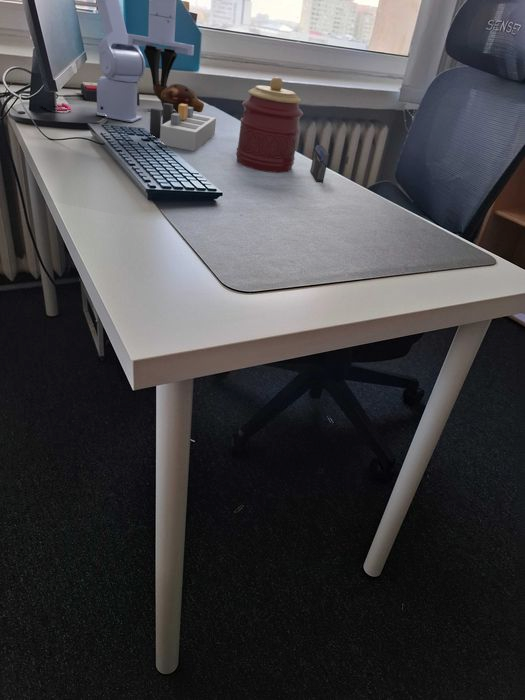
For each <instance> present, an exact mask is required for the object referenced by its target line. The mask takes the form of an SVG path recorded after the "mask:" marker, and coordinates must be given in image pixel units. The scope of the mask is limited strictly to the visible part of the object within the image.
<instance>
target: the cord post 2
mask: <svg viewBox="0 0 525 700" xmlns="http://www.w3.org/2000/svg"><path fill="white" fill-rule="evenodd" d="M173 113H174V109H173V104H168V103H163V107H162V120H161V125H162V124H164V123H166V122H168V121H170V120H171V114H173Z"/></svg>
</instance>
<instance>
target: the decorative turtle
mask: <svg viewBox="0 0 525 700" xmlns="http://www.w3.org/2000/svg"><path fill="white" fill-rule="evenodd" d="M152 90H153V92H154V94H155V96H156V98H157V99H158V100H159V101H160V102H161V107H162V108H163V103H168V104H173V110H174V111H175V113H178V105H180V104H187V105H188V106H189V107H194V109H193V112H197V113H202V112H203V110H204V107H205V104H204V102H202V101H201V100H199V99H198V96H197V94H196V93H195V92H194V90H192V89H191V88H189V87H188V86H186V85H185V84H184V85H183V84H180V83H173V84H170V85H169V86H168V85H167V84H166V86H165V87H162V86H161V80H159V84H158V85H153V84H152Z"/></svg>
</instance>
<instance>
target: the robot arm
mask: <svg viewBox="0 0 525 700" xmlns="http://www.w3.org/2000/svg"><path fill="white" fill-rule="evenodd" d="M148 1H149V2H148V31H147V32H148V36H146V35H145V36H144V35H138V34H133V33H128V32H127V27H126V23H125V19H124V15H123V11H122V7H121V3H120V0H95V2H96V7H97V10H98V14H99V17H100V22H101V25H102V27H103V33H104V38H103V39H101V41H100V42H99V44H98V46H97V49H98V54H99V55H98V57H99V62H98V63H99V67H100V69H101V72H102V73H103V76H100V77H99V78H98V80H97V82H96V83H97V101H96V113H97V112H99V113H105V114H106V115H107V117H106V118H107V119H113V120H119V121H124V122H128V123H134V122H136V121H139V120H141V119H143V116H142V115H137V114H138V105H137V92H138V83H139V82H141V78H143V76H144V75H145V72H146V61H147V63H148V66H149V69H150V74H151V81H152V86H153V85H158V84H159V81H161V86H162V87H165V86H166V85H167V84H168V80H169V79H168V78H169V76H170V73H171V70H172V66H173V65H174V63H175V61H176V59H177V56H178V54H183V55H187V56H194V55H195V54H194V52H195V45H193V44H189V43H183V42H179V41H175V39H176V38H175V36H176V35H175V33H176V32H175V31H176V16H177V15H176V13H177V12H176V11H177V0H148ZM154 44H155V45H154ZM158 45H161V46H158ZM163 46H166V47H163ZM140 47H143V48H144V47H145V48H144V49H143V53H144V55H145V57H144V55H143V53H142V51H141V49H140ZM145 59H146V61H145ZM160 62H161V63H160ZM160 64H161V71H160ZM160 73H161V74H160ZM160 75H161V76H160Z"/></svg>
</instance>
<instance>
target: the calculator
mask: <svg viewBox="0 0 525 700" xmlns="http://www.w3.org/2000/svg"><path fill="white" fill-rule="evenodd" d="M97 83H98V82H90V81H89V82H88V81H87V82H86V81H82V83H81V84H80V94H81V95H82V94H83V95H84V96H83V95H82V96H83V97H84V99H85V100H86V101H89V102H97ZM137 106H140V92H139V91H137Z"/></svg>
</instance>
